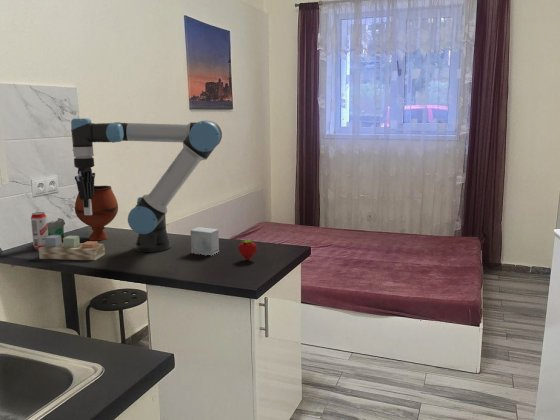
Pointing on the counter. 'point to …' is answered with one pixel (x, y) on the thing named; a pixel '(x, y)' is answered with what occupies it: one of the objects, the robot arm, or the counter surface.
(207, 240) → the skincare box
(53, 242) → the light blue block
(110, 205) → the goblet
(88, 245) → the terracotta button
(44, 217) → the beer can
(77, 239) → the sage-green button
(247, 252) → the strawberry
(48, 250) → the button panel
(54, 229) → the food container
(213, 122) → the robot arm
